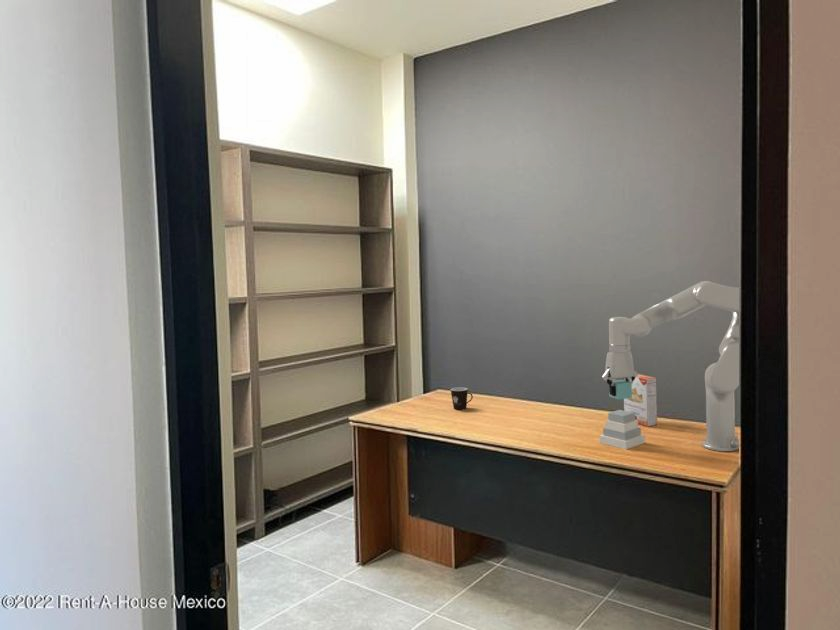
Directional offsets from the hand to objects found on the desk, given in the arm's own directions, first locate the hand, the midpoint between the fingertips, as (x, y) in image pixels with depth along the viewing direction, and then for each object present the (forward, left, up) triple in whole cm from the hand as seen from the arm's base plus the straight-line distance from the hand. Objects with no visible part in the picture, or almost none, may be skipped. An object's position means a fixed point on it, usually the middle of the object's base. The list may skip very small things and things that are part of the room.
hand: (620, 394), depth 235 cm
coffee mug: (+89, +9, -20) cm, 91 cm away
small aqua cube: (0, 0, -1) cm, 1 cm away
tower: (0, 0, -19) cm, 19 cm away
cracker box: (+12, -29, -20) cm, 37 cm away
